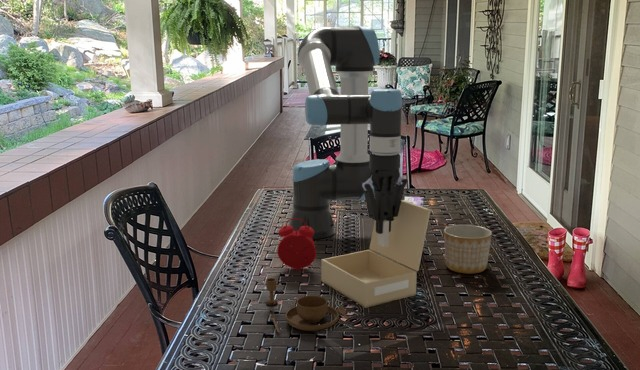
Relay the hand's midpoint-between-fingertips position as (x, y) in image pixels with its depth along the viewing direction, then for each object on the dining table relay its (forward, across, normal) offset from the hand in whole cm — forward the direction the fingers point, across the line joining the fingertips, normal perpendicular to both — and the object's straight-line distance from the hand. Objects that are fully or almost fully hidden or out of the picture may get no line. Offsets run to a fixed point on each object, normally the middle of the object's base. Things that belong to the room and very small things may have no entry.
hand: (382, 245), depth 162 cm
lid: (+4, +3, 0) cm, 5 cm away
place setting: (+12, -25, -5) cm, 28 cm away
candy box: (+11, +20, +13) cm, 26 cm away
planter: (+11, +27, -2) cm, 29 cm away
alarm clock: (+11, -13, +21) cm, 27 cm away
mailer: (+11, -5, 0) cm, 12 cm away
